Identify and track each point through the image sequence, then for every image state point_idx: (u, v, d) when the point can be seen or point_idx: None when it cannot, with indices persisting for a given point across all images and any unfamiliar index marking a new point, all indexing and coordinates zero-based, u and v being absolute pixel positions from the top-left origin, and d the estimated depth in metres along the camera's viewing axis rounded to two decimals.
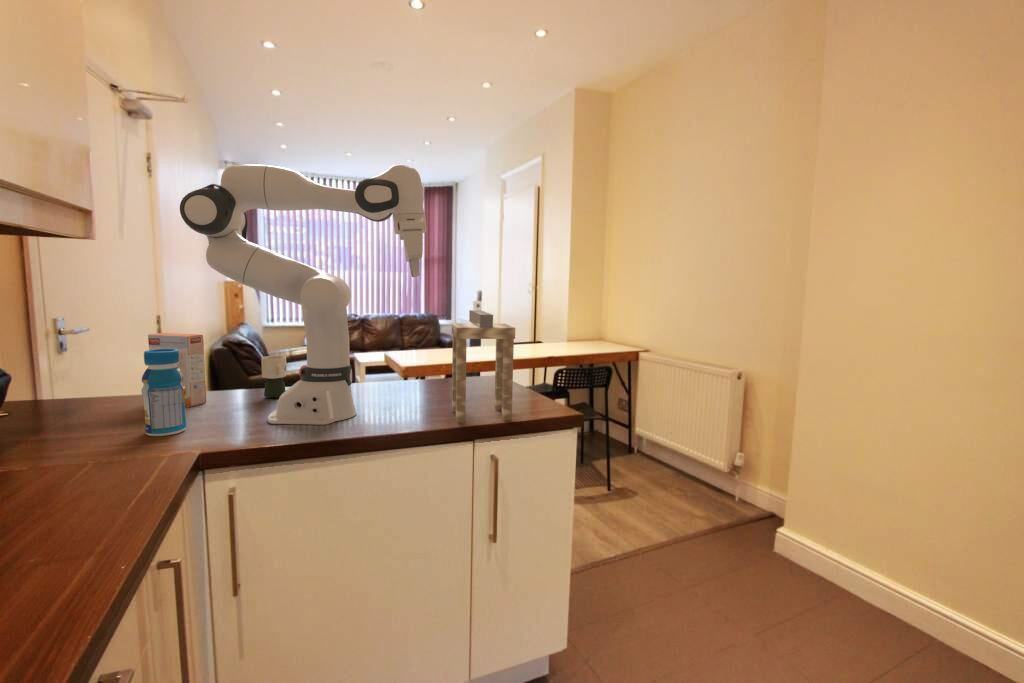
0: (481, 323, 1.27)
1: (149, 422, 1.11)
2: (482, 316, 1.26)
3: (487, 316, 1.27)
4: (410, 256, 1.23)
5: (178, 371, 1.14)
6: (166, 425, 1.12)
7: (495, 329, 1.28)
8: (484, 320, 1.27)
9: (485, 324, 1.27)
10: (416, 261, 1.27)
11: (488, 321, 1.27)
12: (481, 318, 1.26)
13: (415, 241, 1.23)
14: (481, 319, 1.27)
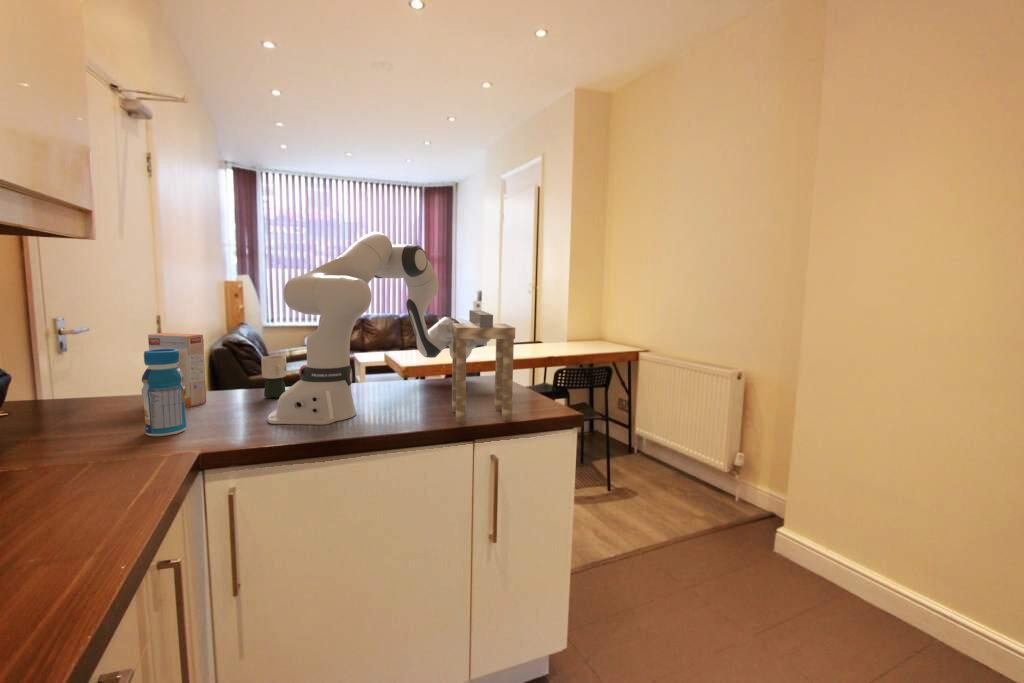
0: (481, 323, 1.27)
1: (149, 422, 1.11)
2: (482, 316, 1.26)
3: (487, 316, 1.27)
4: None
5: (178, 371, 1.14)
6: (166, 425, 1.12)
7: (495, 329, 1.28)
8: (484, 320, 1.27)
9: (485, 324, 1.27)
10: None
11: (488, 321, 1.27)
12: (481, 318, 1.26)
13: None
14: (481, 319, 1.27)
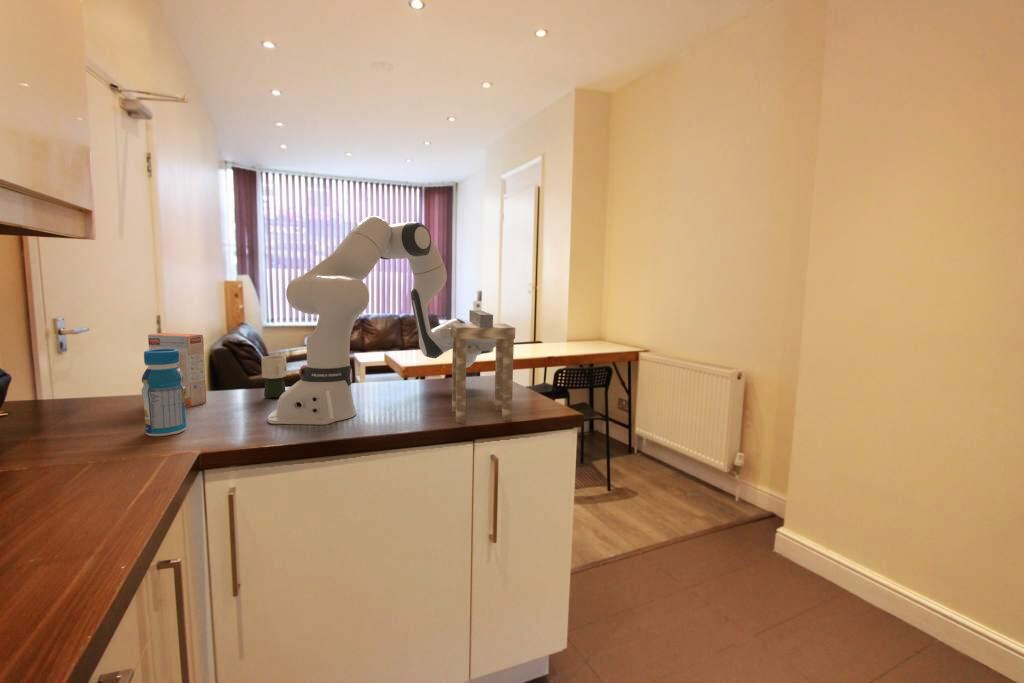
0: (481, 323, 1.27)
1: (149, 422, 1.11)
2: (482, 316, 1.26)
3: (487, 316, 1.27)
4: None
5: (178, 371, 1.14)
6: (166, 425, 1.12)
7: (495, 329, 1.28)
8: (484, 320, 1.27)
9: (485, 324, 1.27)
10: None
11: (488, 321, 1.27)
12: (481, 318, 1.26)
13: None
14: (481, 319, 1.27)
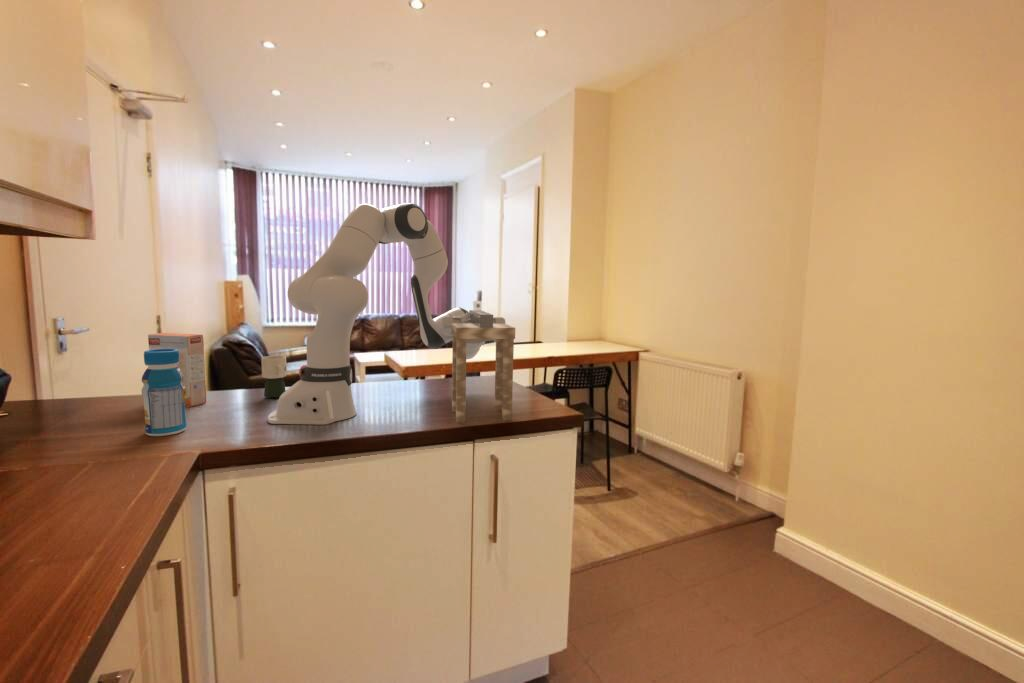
0: (481, 323, 1.27)
1: (149, 422, 1.11)
2: (482, 316, 1.26)
3: (487, 316, 1.27)
4: (504, 319, 1.52)
5: (178, 371, 1.14)
6: (166, 425, 1.12)
7: (495, 329, 1.28)
8: (484, 320, 1.27)
9: (485, 324, 1.27)
10: None
11: (488, 321, 1.27)
12: (481, 318, 1.26)
13: None
14: (481, 319, 1.27)
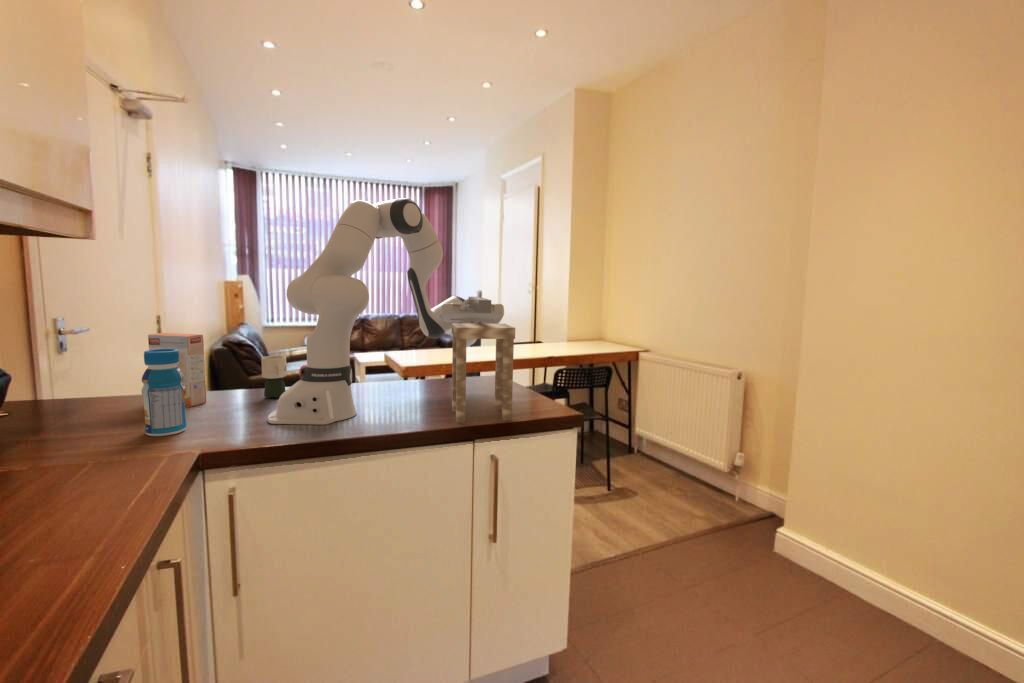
0: (480, 308, 1.30)
1: (149, 422, 1.11)
2: (481, 301, 1.29)
3: (485, 301, 1.30)
4: (502, 305, 1.55)
5: (178, 371, 1.14)
6: (166, 425, 1.12)
7: (495, 329, 1.28)
8: (482, 305, 1.30)
9: (483, 309, 1.30)
10: None
11: (486, 306, 1.30)
12: (480, 303, 1.29)
13: None
14: (480, 304, 1.29)
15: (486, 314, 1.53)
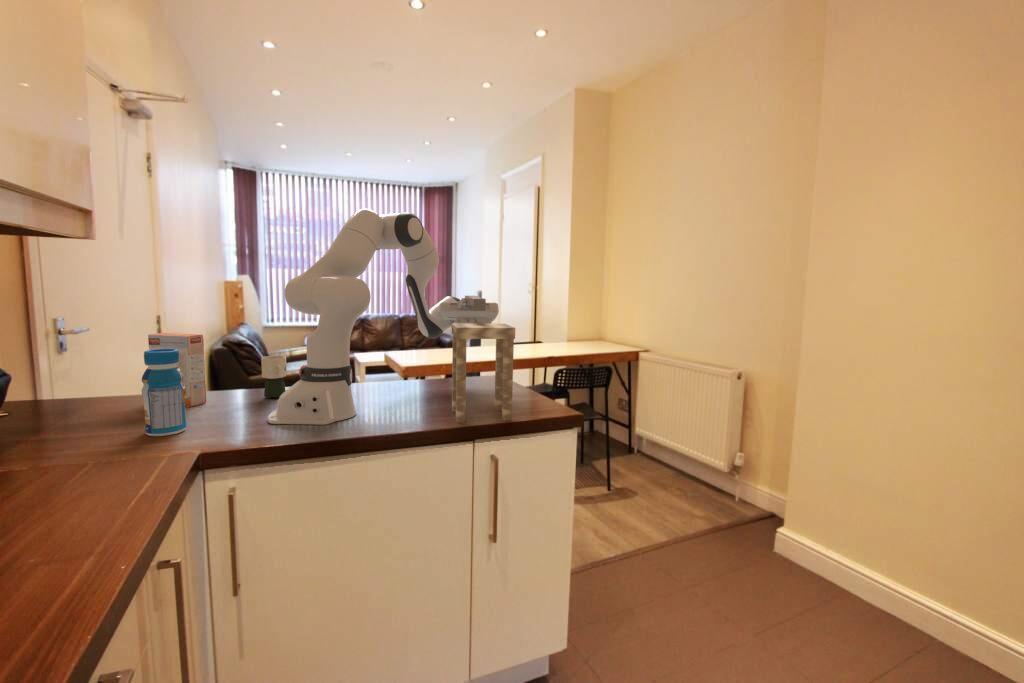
0: (475, 306, 1.39)
1: (149, 422, 1.11)
2: (475, 300, 1.39)
3: (480, 300, 1.39)
4: (497, 304, 1.64)
5: (178, 371, 1.14)
6: (166, 425, 1.12)
7: (495, 329, 1.28)
8: (477, 304, 1.39)
9: (478, 307, 1.39)
10: None
11: (481, 305, 1.39)
12: (475, 302, 1.39)
13: None
14: (475, 303, 1.39)
15: (481, 312, 1.62)
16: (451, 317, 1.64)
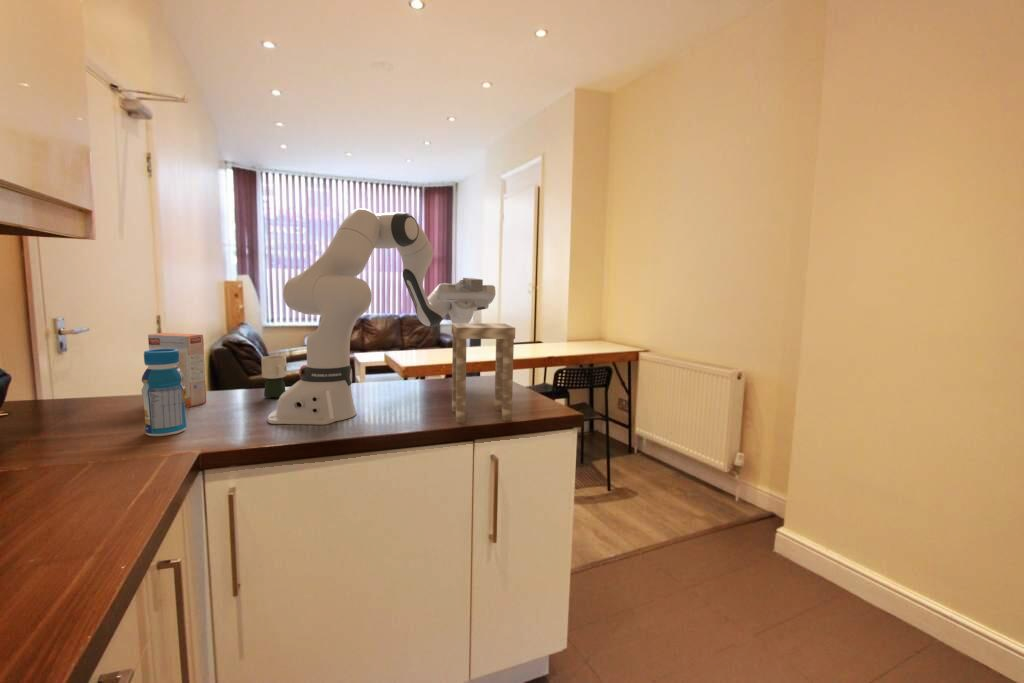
0: (472, 287, 1.44)
1: (149, 422, 1.11)
2: (473, 280, 1.44)
3: (477, 281, 1.44)
4: None
5: (178, 371, 1.14)
6: (166, 425, 1.12)
7: (495, 329, 1.28)
8: (475, 284, 1.44)
9: (475, 288, 1.44)
10: None
11: (478, 285, 1.44)
12: (472, 282, 1.44)
13: None
14: (472, 283, 1.44)
15: (479, 294, 1.67)
16: (449, 299, 1.69)
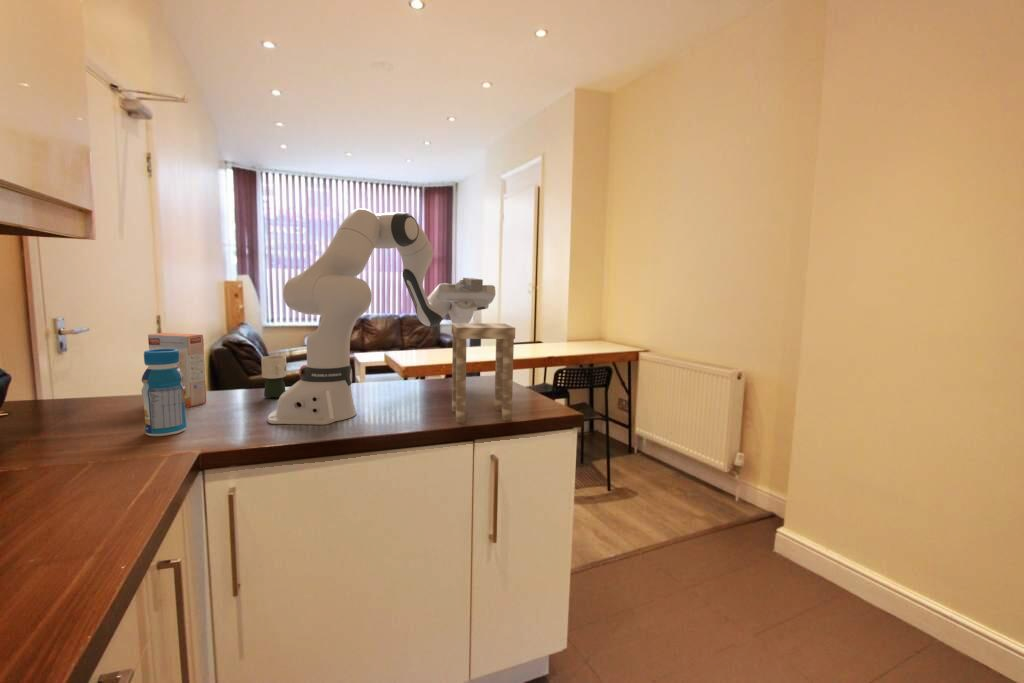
0: (472, 287, 1.44)
1: (149, 422, 1.11)
2: (473, 280, 1.44)
3: (477, 281, 1.44)
4: None
5: (178, 371, 1.14)
6: (166, 425, 1.12)
7: (495, 329, 1.28)
8: (475, 284, 1.44)
9: (475, 288, 1.44)
10: None
11: (478, 285, 1.44)
12: (472, 282, 1.44)
13: None
14: (472, 283, 1.44)
15: (479, 294, 1.67)
16: (449, 299, 1.69)
